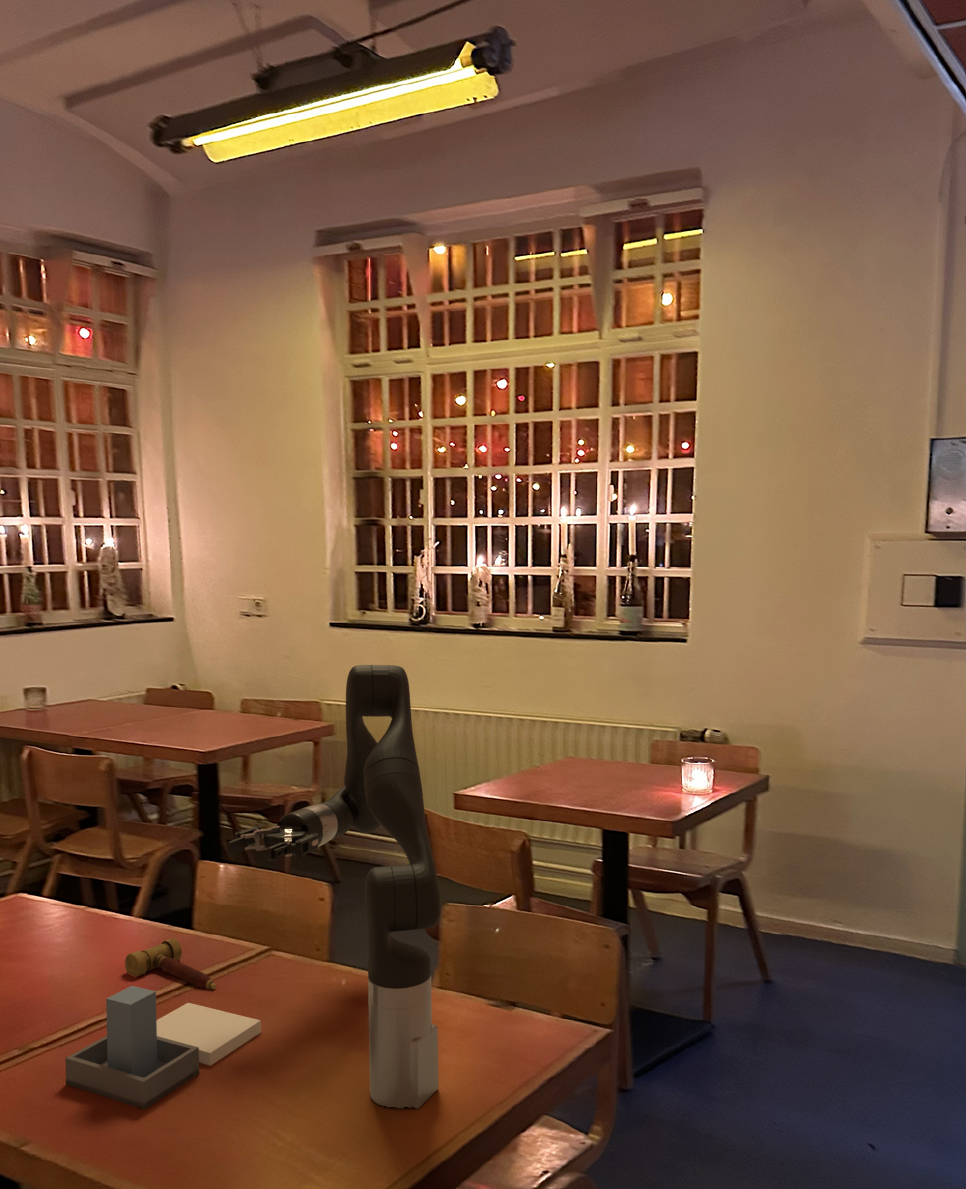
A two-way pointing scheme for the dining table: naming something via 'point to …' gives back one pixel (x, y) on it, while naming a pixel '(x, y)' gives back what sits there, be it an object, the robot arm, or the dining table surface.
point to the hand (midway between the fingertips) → (248, 851)
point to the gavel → (166, 963)
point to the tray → (96, 1076)
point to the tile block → (132, 1031)
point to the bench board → (208, 1030)
